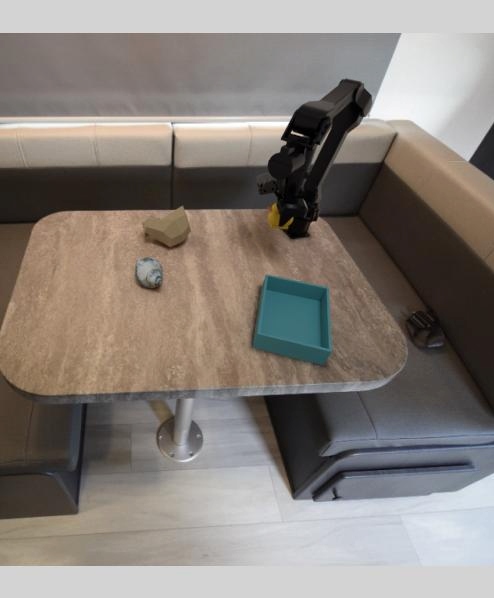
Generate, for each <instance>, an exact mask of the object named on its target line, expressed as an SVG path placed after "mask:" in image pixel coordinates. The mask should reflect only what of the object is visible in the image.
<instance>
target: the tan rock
mask: <svg viewBox="0 0 494 598" xmlns="http://www.w3.org/2000/svg"><path fill="white" fill-rule="evenodd" d="M141 224H142V229H143V233H144V238H145V239H147V238H148V237H151V238H153V239H154V240H156V241H158V242H161V243H162V244H163V245H166V246H167V247H170V248H171V247H173V246H174V247H175V245H179V244H182V243H183V242H184V240H186V238H187V237H188V236H189V235H190V233H191V232H192V228H191V225H190V222H189V218H188V215H187V212H186V210H185V208H184V205H181V206H179V207H178V208H176V209H174V210H173V211H172V212H170V213H168V214H167V215H165V216H164V217H162V218H159V217H156V216H152V215H151V216H149V217H146V219H145V220H144V221H143V222H142V223H141Z"/></svg>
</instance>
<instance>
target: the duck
mask: <svg viewBox="0 0 494 598" xmlns="http://www.w3.org/2000/svg"><path fill="white" fill-rule="evenodd" d="M276 203H277V202H275V203H273V204H272V205H271V206H269V205H268V206H267V210H268V211H270V213H269V214H268V215H267V216H268V217H267V221H268V223H269V227H270V229H279V230H283V229H288V225H290V224H291V223H292V221H293V218H291V219H290V220H289V221H288V222H287V223H286V224H285V225H284V226H283V227H279V226H278V225H279V216H280V215H279V212H278V209H277V205H276Z"/></svg>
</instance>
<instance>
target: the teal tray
mask: <svg viewBox="0 0 494 598" xmlns="http://www.w3.org/2000/svg"><path fill="white" fill-rule="evenodd" d="M330 299H331V297H330V287H329V286H324V285H320V284H316V283H315V284H314V283H310V282H305V281H301V280H295V279H291V278H285V277H281V276H276V275H272V274H265V276H264V279H263V282H262V285H261V288H260V295H259V302H258V308H257V314H256V321H255V328H254V335H253V341H252V347H251V348H253V349H256V350H259V351H264V352H268V353H272V354H275V355H280V356H284V357H288V358H292V359H295V360H300V361H304V362H308V363H312V364H316V365H320V366H324V365H325V364H326V363H327V361H328V359H329V358H330V356H331V354H332V352H333V344H332V343H333V342H332V324H331V322H332V321H331V320H332V319H331V301H330Z"/></svg>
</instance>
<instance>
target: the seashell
mask: <svg viewBox="0 0 494 598" xmlns="http://www.w3.org/2000/svg"><path fill="white" fill-rule="evenodd" d="M135 278H136V280H137V282H138V283H139V284H140V285H141V286H142V287H143V288H147V289H154V288H156V287H158V286H161V285H162V284H163V266H162V265H161V263H160V262H159V260H158V259H156V258H155V257H152V256H145V257H143V258H137V259H136V261H135Z"/></svg>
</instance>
